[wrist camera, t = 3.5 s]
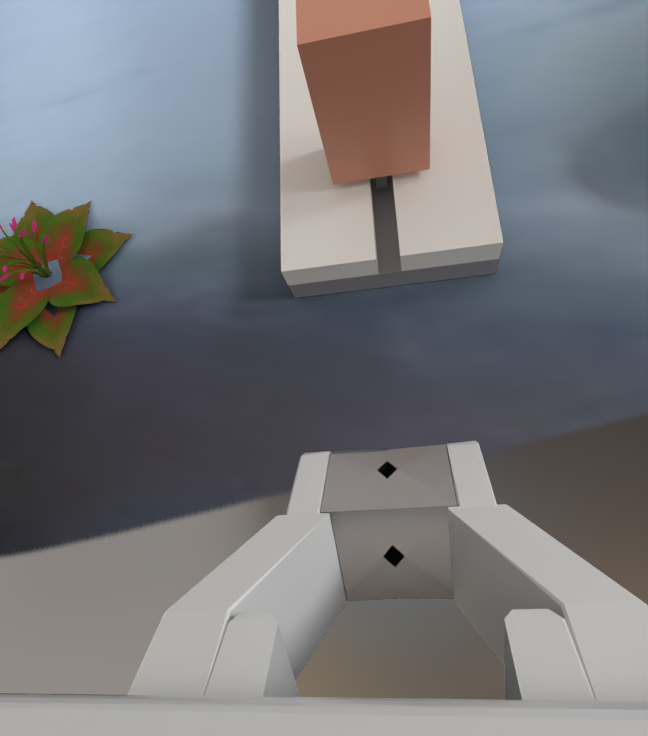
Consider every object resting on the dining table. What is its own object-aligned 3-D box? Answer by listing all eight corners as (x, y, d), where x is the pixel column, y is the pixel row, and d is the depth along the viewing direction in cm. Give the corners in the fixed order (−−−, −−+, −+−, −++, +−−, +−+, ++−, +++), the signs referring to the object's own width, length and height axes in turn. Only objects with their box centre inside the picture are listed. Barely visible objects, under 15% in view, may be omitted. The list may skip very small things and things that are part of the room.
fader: (423, 147, 28) (422, -39, 19) (429, 192, 27) (431, 17, 18) (336, 162, 29) (295, -11, 20) (338, 205, 28) (297, 44, 19)
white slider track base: (431, -104, 38) (431, -157, 35) (495, 273, 27) (503, 241, 24) (288, -69, 39) (277, -117, 37) (295, 297, 29) (280, 270, 26)
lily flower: (168, 226, 33) (130, 179, 29) (72, 391, 30) (13, 366, 26) (35, 185, 36) (-17, 137, 32) (-62, 329, 34) (-133, 297, 29)
